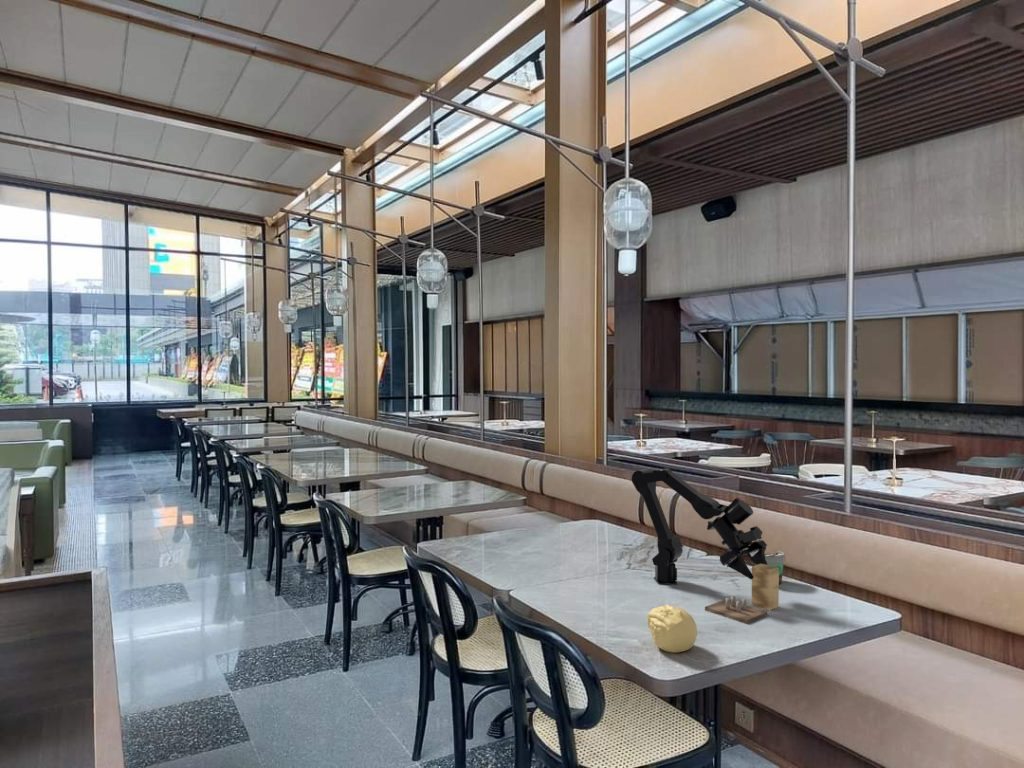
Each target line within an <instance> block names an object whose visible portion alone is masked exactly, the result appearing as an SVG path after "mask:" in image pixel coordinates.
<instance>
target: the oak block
mask: <svg viewBox="0 0 1024 768" xmlns="http://www.w3.org/2000/svg"><path fill="white" fill-rule="evenodd" d="M751 573H752V575H753V577H754V578H753V579H751V606H752V605H753V606H752V607H755V608H756V607H757V608H758V609H762V608H763V609H762V610H766V609H767V610H766V611H769V610H770V611H772V609H773V610H775V609H777V607H778V608H779V607H780V605H779V603H780V602H779V598H780V597H779V594H780V593H779V591H780V590H779V589H780V585H779V568H777V567H773V566H769V565H765V564H758V565H755V564H754V565H752V566H751ZM774 608H775V609H774Z"/></svg>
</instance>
